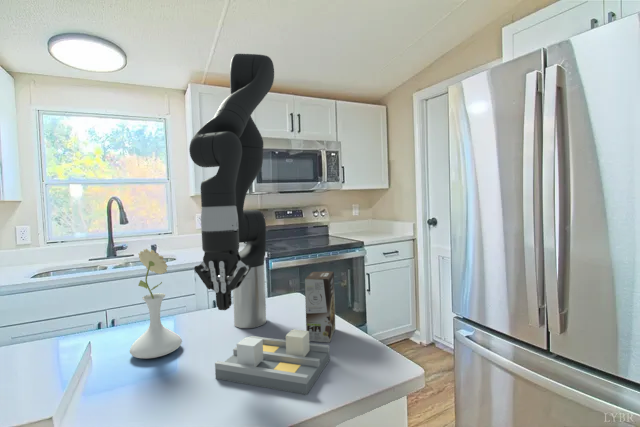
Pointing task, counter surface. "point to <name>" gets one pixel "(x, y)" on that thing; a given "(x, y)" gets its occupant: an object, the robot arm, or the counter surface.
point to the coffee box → (320, 306)
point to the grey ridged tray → (277, 367)
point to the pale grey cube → (250, 351)
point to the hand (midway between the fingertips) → (224, 309)
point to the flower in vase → (154, 315)
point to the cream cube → (297, 343)
